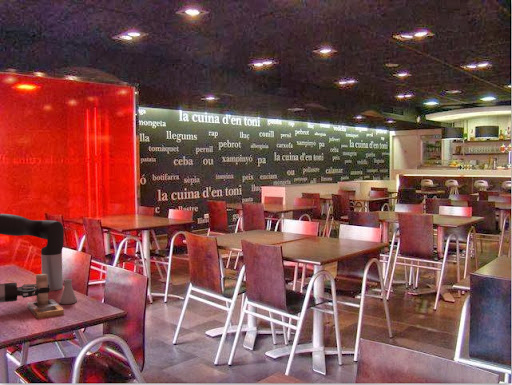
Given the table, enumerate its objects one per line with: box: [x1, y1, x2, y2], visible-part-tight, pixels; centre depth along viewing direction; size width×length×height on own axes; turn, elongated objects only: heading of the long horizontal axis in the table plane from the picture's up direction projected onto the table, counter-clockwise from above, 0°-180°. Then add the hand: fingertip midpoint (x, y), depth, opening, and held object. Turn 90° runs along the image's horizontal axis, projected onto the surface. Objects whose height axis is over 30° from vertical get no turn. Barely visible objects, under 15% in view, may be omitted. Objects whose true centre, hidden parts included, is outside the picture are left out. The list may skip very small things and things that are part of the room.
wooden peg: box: [35, 273, 49, 306], centre depth 210 cm, size 4×4×14 cm
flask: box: [59, 278, 78, 305], centre depth 219 cm, size 7×7×10 cm
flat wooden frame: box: [27, 298, 65, 320], centre depth 206 cm, size 19×10×2 cm, turn 35°
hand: (49, 288), depth 211 cm, fingers closed on wooden peg, 4 cm apart
